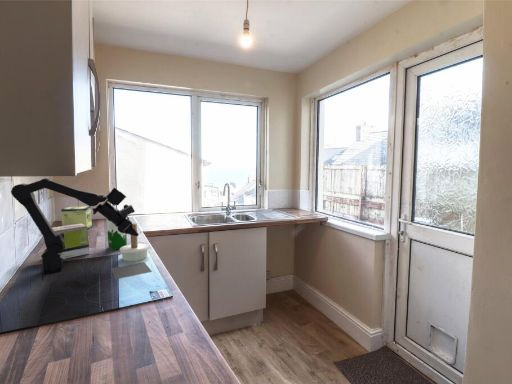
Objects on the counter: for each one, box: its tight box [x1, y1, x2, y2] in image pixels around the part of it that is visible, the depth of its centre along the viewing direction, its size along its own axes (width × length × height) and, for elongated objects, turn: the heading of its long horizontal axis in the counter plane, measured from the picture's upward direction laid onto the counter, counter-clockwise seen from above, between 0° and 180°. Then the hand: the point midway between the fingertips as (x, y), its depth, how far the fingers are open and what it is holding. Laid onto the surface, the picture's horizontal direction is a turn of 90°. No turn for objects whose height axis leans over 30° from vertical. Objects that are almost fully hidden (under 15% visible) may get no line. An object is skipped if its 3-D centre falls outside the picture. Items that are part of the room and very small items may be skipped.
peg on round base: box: [119, 222, 150, 254], centre depth 139 cm, size 13×13×12 cm
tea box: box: [52, 224, 91, 260], centre depth 144 cm, size 15×10×15 cm
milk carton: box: [105, 218, 128, 251], centre depth 156 cm, size 9×9×20 cm
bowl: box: [121, 249, 148, 262], centre depth 140 cm, size 11×11×4 cm
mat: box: [110, 261, 153, 280], centre depth 123 cm, size 14×14×1 cm
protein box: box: [60, 205, 93, 230], centre depth 200 cm, size 10×16×16 cm
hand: (136, 233), depth 139 cm, fingers open, 9 cm apart
